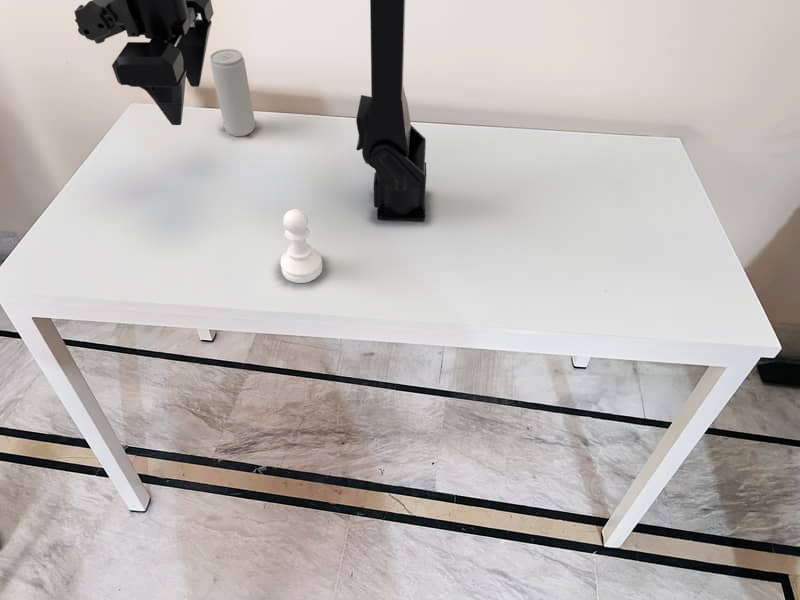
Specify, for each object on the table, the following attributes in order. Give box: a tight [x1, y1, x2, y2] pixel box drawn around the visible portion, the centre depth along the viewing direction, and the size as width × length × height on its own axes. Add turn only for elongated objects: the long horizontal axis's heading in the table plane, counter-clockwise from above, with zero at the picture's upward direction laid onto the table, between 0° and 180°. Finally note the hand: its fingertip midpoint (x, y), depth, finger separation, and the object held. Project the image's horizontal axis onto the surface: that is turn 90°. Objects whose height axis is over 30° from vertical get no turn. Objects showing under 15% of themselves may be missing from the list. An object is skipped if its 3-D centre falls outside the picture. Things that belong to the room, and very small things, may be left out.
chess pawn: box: [280, 208, 324, 284], centre depth 72 cm, size 5×5×9 cm
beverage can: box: [209, 48, 256, 137], centre depth 92 cm, size 5×5×12 cm
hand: (186, 104), depth 74 cm, fingers open, 9 cm apart
